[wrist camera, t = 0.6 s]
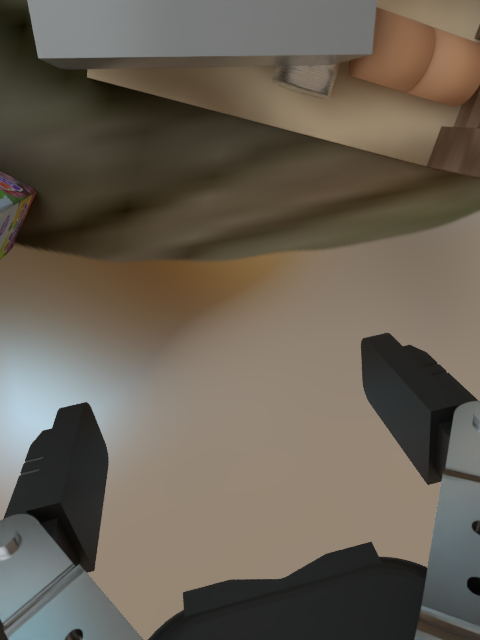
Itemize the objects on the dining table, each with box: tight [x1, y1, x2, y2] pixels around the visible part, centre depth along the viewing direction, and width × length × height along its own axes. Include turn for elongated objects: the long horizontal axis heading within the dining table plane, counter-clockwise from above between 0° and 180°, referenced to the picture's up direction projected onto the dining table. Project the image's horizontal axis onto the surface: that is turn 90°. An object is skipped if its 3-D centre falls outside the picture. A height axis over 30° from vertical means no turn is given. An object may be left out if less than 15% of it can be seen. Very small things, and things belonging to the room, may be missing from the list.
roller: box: [349, 7, 480, 107], centre depth 30 cm, size 8×4×4 cm, turn 77°
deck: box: [87, 0, 480, 178], centre depth 27 cm, size 12×28×9 cm, turn 77°
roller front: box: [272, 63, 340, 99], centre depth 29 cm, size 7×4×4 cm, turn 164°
